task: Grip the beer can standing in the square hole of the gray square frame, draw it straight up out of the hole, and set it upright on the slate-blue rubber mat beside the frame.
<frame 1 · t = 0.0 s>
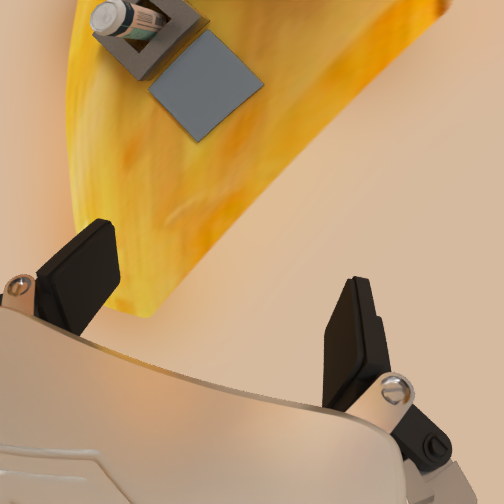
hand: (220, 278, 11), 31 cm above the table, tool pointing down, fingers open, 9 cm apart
gray square frame: (153, 26, 31), on the table
beer can: (153, 26, 31), resting in gray square frame
mat: (203, 85, 35), on the table
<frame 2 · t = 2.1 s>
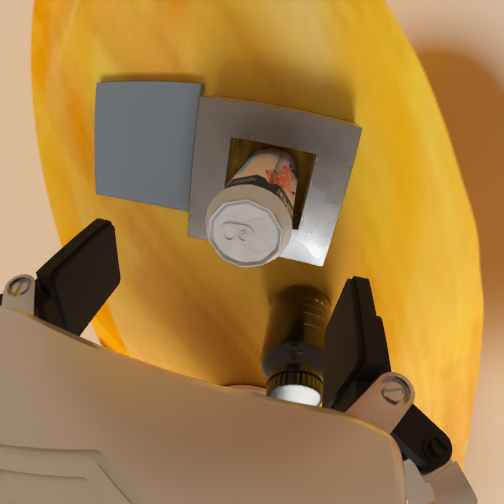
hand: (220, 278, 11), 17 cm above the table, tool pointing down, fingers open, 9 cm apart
supplement bottle: (301, 306, 33), on the table
gray square frame: (271, 172, 26), on the table
beer can: (271, 172, 26), resting in gray square frame
mat: (143, 142, 26), on the table
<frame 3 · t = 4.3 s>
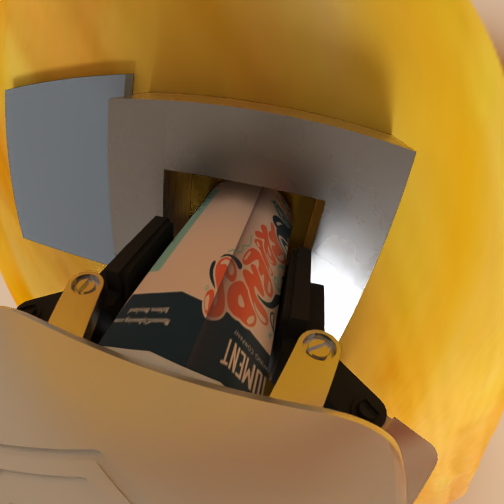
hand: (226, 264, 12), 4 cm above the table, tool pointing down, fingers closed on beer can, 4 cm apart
gray square frame: (247, 218, 16), on the table
beer can: (248, 216, 16), resting in gray square frame, touching gripper
mat: (62, 169, 16), on the table
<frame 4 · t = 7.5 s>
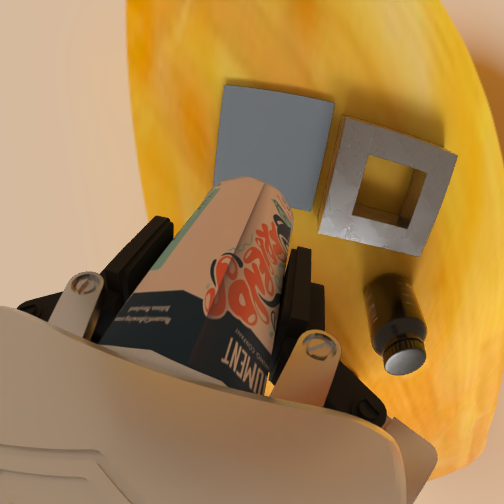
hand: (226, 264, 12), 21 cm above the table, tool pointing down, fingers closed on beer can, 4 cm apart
supplement bottle: (387, 291, 37), on the table
gray square frame: (382, 182, 30), on the table
beer can: (248, 215, 16), point 17 cm above the table, touching gripper
mat: (270, 147, 30), on the table
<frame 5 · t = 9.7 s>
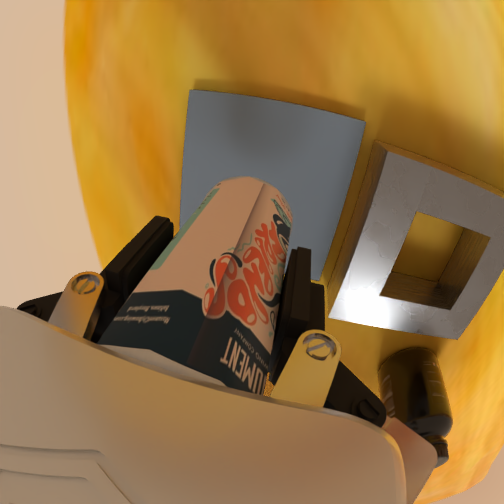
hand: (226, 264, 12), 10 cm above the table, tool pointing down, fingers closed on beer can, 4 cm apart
supplement bottle: (407, 364, 27), on the table
gray square frame: (422, 240, 20), on the table
beer can: (248, 215, 16), point 5 cm above the table, touching gripper
mat: (262, 186, 20), on the table
when the fingers open (6 cm above the table, at t = 11.2 s): beer can stays where it is, resting on mat.
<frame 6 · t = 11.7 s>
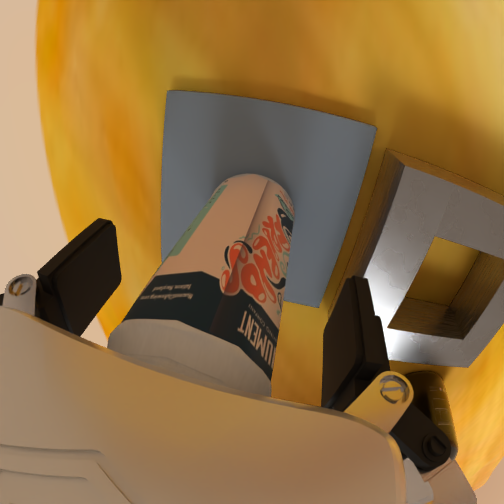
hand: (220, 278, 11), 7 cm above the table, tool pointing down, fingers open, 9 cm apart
supplement bottle: (412, 387, 24), on the table
gray square frame: (436, 263, 17), on the table
beer can: (253, 209, 17), point 1 cm above the table, touching mat
mat: (253, 203, 17), on the table
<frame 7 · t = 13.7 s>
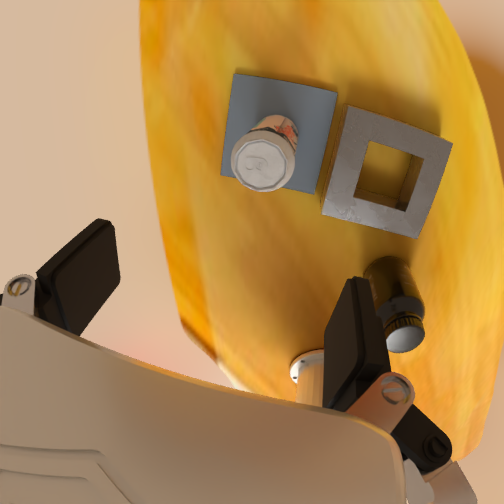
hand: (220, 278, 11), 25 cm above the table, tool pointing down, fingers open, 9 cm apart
supplement bottle: (386, 274, 39), on the table
gray square frame: (381, 167, 31), on the table
beer can: (276, 135, 31), point 1 cm above the table, touching mat
mat: (276, 132, 31), on the table
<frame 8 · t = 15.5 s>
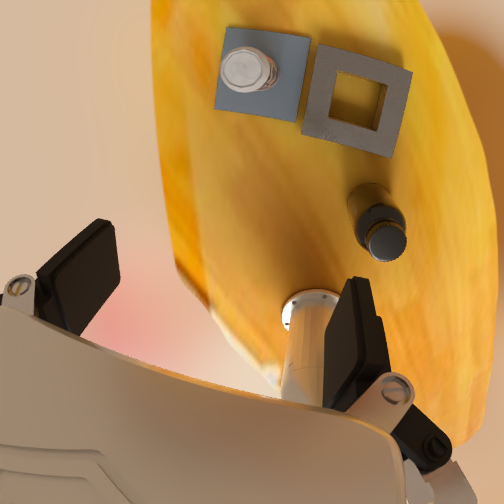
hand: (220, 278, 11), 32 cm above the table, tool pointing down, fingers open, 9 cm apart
supplement bottle: (369, 203, 41), on the table
gray square frame: (354, 99, 34), on the table
beer can: (261, 73, 34), point 1 cm above the table, touching mat
mat: (261, 72, 34), on the table
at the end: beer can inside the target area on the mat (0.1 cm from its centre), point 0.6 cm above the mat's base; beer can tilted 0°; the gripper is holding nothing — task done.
